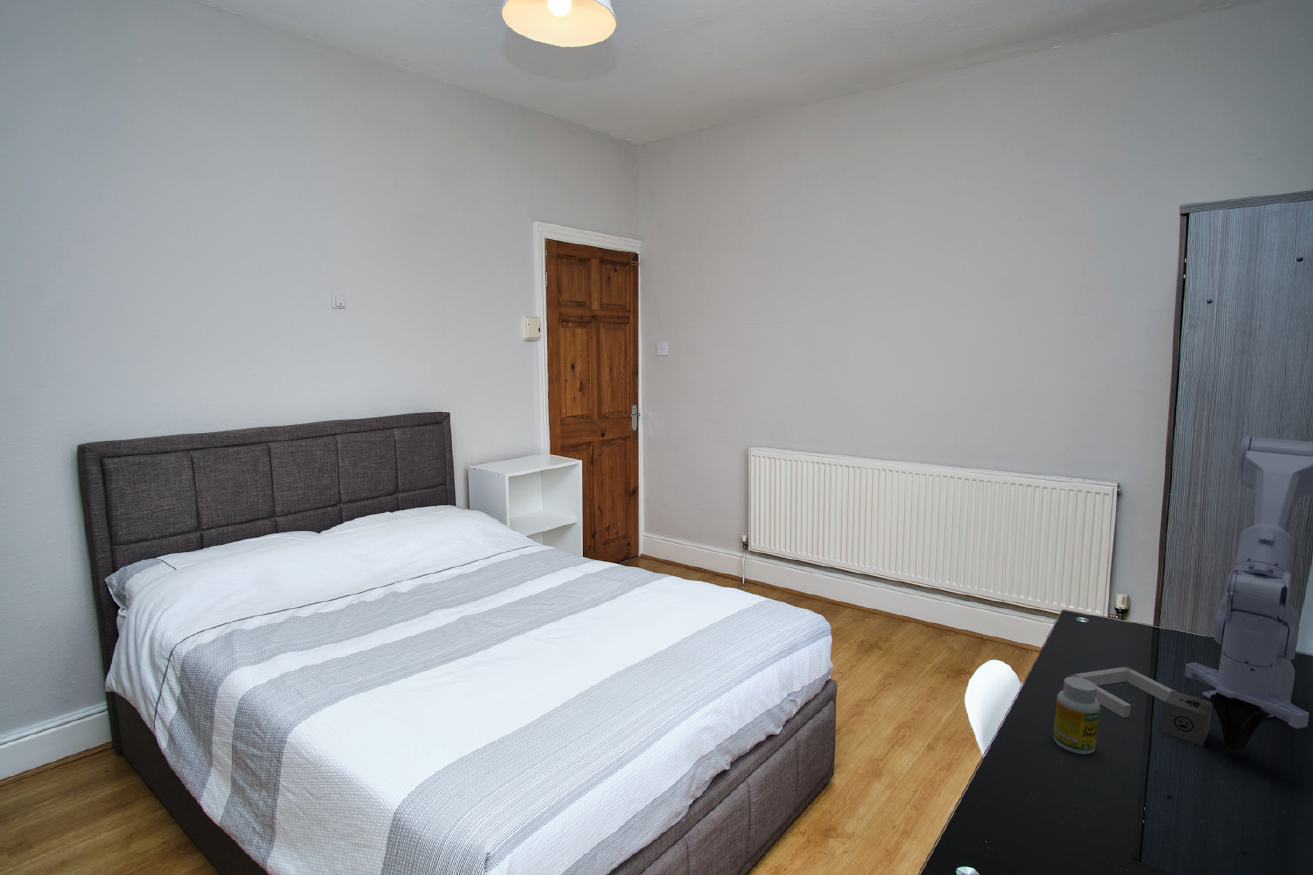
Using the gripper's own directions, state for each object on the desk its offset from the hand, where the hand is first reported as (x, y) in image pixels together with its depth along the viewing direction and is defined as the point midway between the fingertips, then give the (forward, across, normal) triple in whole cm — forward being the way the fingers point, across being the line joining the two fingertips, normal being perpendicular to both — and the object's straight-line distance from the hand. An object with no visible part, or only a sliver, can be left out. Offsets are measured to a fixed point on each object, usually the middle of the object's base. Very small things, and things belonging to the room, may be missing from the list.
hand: (1234, 747), depth 97 cm
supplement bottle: (+2, -8, -20) cm, 22 cm away
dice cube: (+2, -6, -1) cm, 7 cm away
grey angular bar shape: (+1, -16, 0) cm, 16 cm away
